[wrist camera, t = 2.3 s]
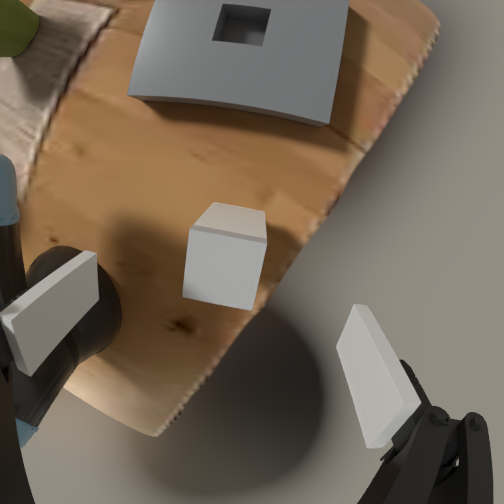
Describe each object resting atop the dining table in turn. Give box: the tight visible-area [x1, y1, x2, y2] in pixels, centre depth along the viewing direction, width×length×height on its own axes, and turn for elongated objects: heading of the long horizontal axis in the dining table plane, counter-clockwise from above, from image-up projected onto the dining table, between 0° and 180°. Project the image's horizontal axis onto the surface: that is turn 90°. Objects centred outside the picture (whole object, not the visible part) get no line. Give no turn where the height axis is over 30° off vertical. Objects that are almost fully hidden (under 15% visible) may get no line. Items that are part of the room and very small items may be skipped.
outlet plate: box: [127, 0, 349, 127], centre depth 20 cm, size 16×18×4 cm
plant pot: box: [0, 0, 40, 57], centre depth 13 cm, size 12×12×11 cm
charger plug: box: [182, 202, 267, 311], centre depth 22 cm, size 4×4×12 cm
